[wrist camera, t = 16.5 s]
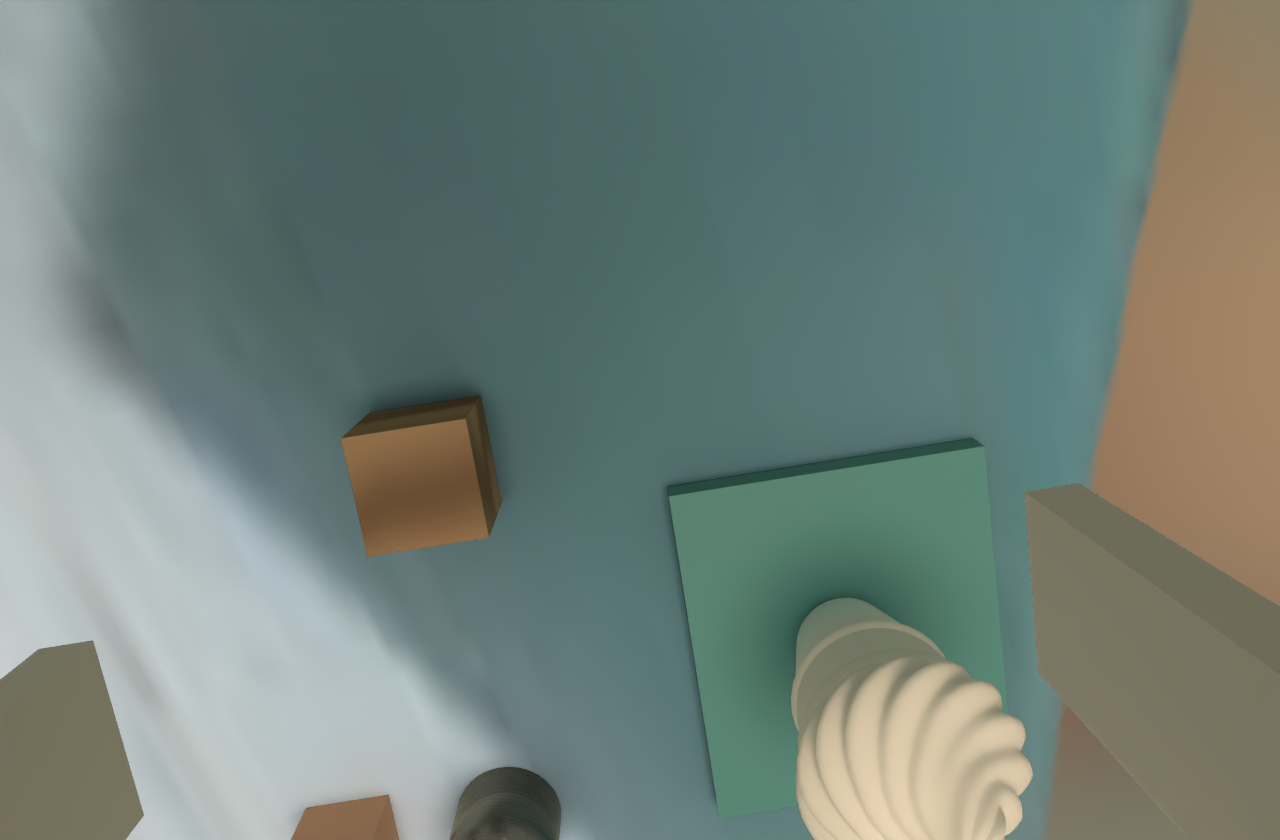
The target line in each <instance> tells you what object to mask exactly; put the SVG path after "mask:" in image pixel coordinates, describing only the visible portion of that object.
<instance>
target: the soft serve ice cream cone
mask: <svg viewBox="0 0 1280 840" xmlns="http://www.w3.org/2000/svg"><path fill="white" fill-rule="evenodd" d="M791 708H792V715H793V718H794V722H795V725H796V728H797V730H798V732H799V734H798V756H797V763H796V765H797V771H796V798H797V802H798V806H799V809H800V813H801V816H802V820H803V821H804V823H805V825H806V826H807V828H808V830H809V831H810V833H811V835H812V837H813V838H814V840H1005V838H1004V836H1005V835H1008V834H1010V833H1011V832H1012V831H1013V830H1014V829H1015V828H1016V827H1017V825H1018V824H1019V823H1020V821H1021V820H1022V804H1021V802H1020V800H1019V798H1018V796H1019V795H1020V794H1021V793H1022V792H1024V790H1025V789H1026V787H1027V786H1028V784H1029V782H1030V780H1031V778H1032V776H1033V773H1032V769H1031V765H1030V763H1029V760H1028V759H1027V758H1026V757H1025V756H1024V755H1023V754H1022V753H1021V752H1020V751H1021V749H1022V747H1023V744H1024V741H1025V738H1026V735H1025V728H1024V726H1023V724H1022V722H1021V721H1020V720H1019V719H1017V718H1016V717H1015V716H1012V715H1009V714H1006V713H1003V712H1002V700H1001V695H1000V693H999V690H998V689H997V688H996V687H995V686H994V685H992V684H991V683H989V682H986V681H983V680H972V679H971V677H970V675H969V674H968V672H967V671H966V670H965V669H964V668H963V667H962V666H961V665H959V664H957V663H954V662H952V661H948V660H946V658H945V656H944V654H943V653H942V652H941V650H940V649H939V648H938V647H937V646H936V644H935V643H934V642H933V641H932V640H930V639H929V638H928V637H927V636H925V635H924V634H923V633H921V632H919V631H918V630H916V629H914V628H912V627H910V626H907V625H904V624H900V623H899V622H897V621H896V620H894V619H893V618H891V617H890V616H888V615H887V614H885V613H884V612H882V611H881V610H879V609H877V608H876V607H874V606H873V605H871V604H869V603H867V602H865V601H863V600H859V599H856V598H837V599H833V600H830V601H827V602H825V603H823V604H821V605H819V606H818V607H816V608H815V609H814V610H812V611H811V612H810V613H809V615H808V616H807V617H806V618H805V620H804V621H803V623H802V624H801V626H800V629H799V632H798V636H797V644H796V676H795V679H794V681H793V686H792V693H791Z"/></svg>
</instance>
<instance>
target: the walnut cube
mask: <svg viewBox="0 0 1280 840" xmlns="http://www.w3.org/2000/svg"><path fill="white" fill-rule="evenodd" d="M341 440H342V445H343V449H344V454H345V458H346V463H347V467H348V472H349V476H350V481H351V485H352V490H353V494H354V498H355V503H356V507H357V512H358V516H359V521H360V525H361V530H362V534H363V539H364V543H365V548H366V552H367V557H369V556H375V555H381V554H388V553H394V552H400V551H407V550H413V549H420V548H426V547H432V546H439V545H445V544H451V543H458V542H464V541H470V540H477V539H483V538H489V536H490V533H491V531H492V528H493V525H494V522H495V519H496V516H497V514H498V511H499V508H500V505H501V497H500V492H499V487H498V482H497V476H496V471H495V466H494V461H493V456H492V450H491V445H490V440H489V435H488V430H487V424H486V419H485V414H484V409H483V404H482V398H481V395H479V396H473V397H466V398H460V399H454V400H448V401H441V402H435V403H429V404H422V405H416V406H410V407H403V408H397V409H391V410H384V411H378V412H372V413H369V414H368V415H366V416H365V417H364V418H363V419H362V420H361V421H360V422H359V423H358V424H356V425H355V426H354V427H353V428H352V429H351V430H350V431H349V432H348V433H347V434H345V435H344V436H343V437H342V438H341Z"/></svg>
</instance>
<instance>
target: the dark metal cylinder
mask: <svg viewBox="0 0 1280 840" xmlns="http://www.w3.org/2000/svg"><path fill="white" fill-rule="evenodd" d="M560 823H561V807H560V803H559V799H558V797H557V795H556V793H555V791H554V790H553V788H552V787H551V786H550V784H549V783H548V782H547V781H545V780H544V779H543V778H542V777H540V776H539V775H537V774H535V773H533V772H531V771H529V770H526V769H522V768H516V767H502V768H496V769H492V770H489V771H487V772H485V773H483V774H481V775H479V776H478V777H476V778H475V779H474V780H473V781H471V782H470V783H469V785H468V786H467V787H466V788H465V790H464V791H463V793H462V795H461V797H460V800H459V804H458V808H457V812H456V816H455V820H454V824H453V828H452V832H451V836H450V840H559V835H560Z"/></svg>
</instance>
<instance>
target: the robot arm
mask: <svg viewBox="0 0 1280 840" xmlns="http://www.w3.org/2000/svg"><path fill="white" fill-rule="evenodd" d="M1024 497H1025V509H1026V521H1027V534H1028V546H1029V559H1030V571H1031V583H1032V596H1033V608H1034V621H1035V633H1036V646H1037V658H1038V670H1039V674H1040V675H1041V676H1042V678H1043V679H1044V680H1045V681H1046V682H1047V683H1048V684H1049V685H1050V686H1051V688H1052V689H1053V690H1054V691H1055V692H1056V693H1057V694H1058V695H1059V696H1060V698H1061V699H1062V700H1063V701H1064V702H1065V703H1066V704H1067V705H1068V706H1069V708H1070V709H1071V710H1072V711H1073V712H1074V713H1075V714H1076V715H1077V716H1078V718H1079V719H1080V720H1081V721H1082V722H1083V723H1084V724H1085V725H1086V726H1087V727H1088V729H1089V730H1090V731H1091V732H1092V733H1093V734H1094V735H1095V736H1096V738H1097V739H1098V740H1099V741H1100V742H1101V743H1102V744H1103V745H1104V746H1105V748H1106V749H1107V750H1108V751H1109V752H1110V753H1111V754H1112V755H1113V757H1114V758H1115V759H1116V760H1117V761H1118V762H1119V763H1120V764H1121V765H1122V767H1123V768H1124V769H1125V770H1126V771H1127V772H1128V773H1129V774H1130V775H1131V777H1132V778H1133V779H1134V780H1135V781H1136V782H1137V783H1138V784H1139V785H1140V786H1141V788H1142V789H1143V790H1144V791H1145V792H1146V793H1147V794H1148V795H1149V797H1150V798H1151V799H1152V800H1153V801H1154V802H1155V803H1156V804H1157V805H1158V806H1159V808H1160V809H1161V810H1162V811H1163V812H1164V813H1165V814H1166V815H1167V817H1168V818H1169V819H1170V820H1171V821H1172V822H1173V823H1174V824H1175V825H1176V827H1177V828H1178V829H1179V830H1180V831H1181V832H1182V833H1183V834H1184V835H1185V837H1186V838H1187V839H1188V840H1280V606H1278V605H1276V604H1275V603H1273V602H1271V601H1270V600H1268V599H1267V598H1265V597H1263V596H1262V595H1260V594H1258V593H1257V592H1255V591H1253V590H1252V589H1250V588H1249V587H1247V586H1245V585H1244V584H1242V583H1240V582H1239V581H1237V580H1236V579H1234V578H1232V577H1231V576H1229V575H1227V574H1226V573H1224V572H1223V571H1221V570H1219V569H1218V568H1216V567H1214V566H1213V565H1211V564H1209V563H1208V562H1206V561H1205V560H1203V559H1201V558H1200V557H1198V556H1196V555H1195V554H1193V553H1192V552H1190V551H1188V550H1187V549H1185V548H1183V547H1182V546H1180V545H1178V544H1177V543H1175V542H1173V541H1172V540H1170V539H1169V538H1167V537H1165V536H1164V535H1162V534H1161V533H1159V532H1157V531H1156V530H1154V529H1152V528H1151V527H1149V526H1147V525H1146V524H1144V523H1142V522H1141V521H1139V520H1138V519H1136V518H1134V517H1133V516H1131V515H1129V514H1128V513H1126V512H1125V511H1123V510H1121V509H1120V508H1118V507H1117V506H1115V505H1113V504H1112V503H1110V502H1108V501H1107V500H1105V499H1103V498H1102V497H1100V496H1099V495H1097V494H1095V493H1094V492H1092V491H1090V490H1089V489H1087V488H1086V487H1084V486H1082V485H1081V484H1079V483H1078V484H1072V485H1065V486H1059V487H1053V488H1046V489H1040V490H1034V491H1028V492H1024ZM143 816H144V814H143V810H142V807H141V804H140V800H139V797H138V793H137V790H136V786H135V783H134V780H133V776H132V773H131V769H130V766H129V762H128V759H127V756H126V752H125V749H124V745H123V742H122V738H121V735H120V732H119V728H118V725H117V721H116V718H115V714H114V711H113V708H112V704H111V701H110V697H109V694H108V690H107V687H106V684H105V680H104V677H103V673H102V670H101V666H100V663H99V660H98V656H97V653H96V649H95V646H94V642H93V641H87V642H80V643H74V644H68V645H62V646H55V647H49V648H43V649H38V650H37V651H36V652H35V653H33V654H32V655H31V656H30V657H28V658H27V659H26V660H25V661H23V662H22V663H21V664H20V665H18V666H17V667H16V668H14V669H13V670H12V671H11V672H9V673H8V674H7V675H6V676H4V677H3V678H2V679H1V680H0V840H126V838H127V837H128V836H129V834H130V833H131V832H132V830H133V829H134V828H135V826H136V825H137V824H138V822H139V821H140V820H141V818H142V817H143Z"/></svg>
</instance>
